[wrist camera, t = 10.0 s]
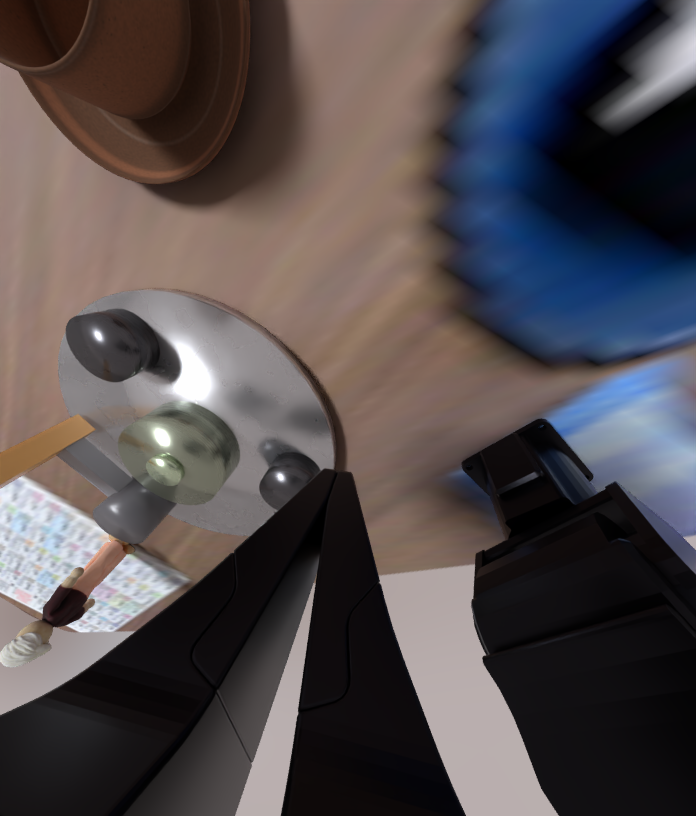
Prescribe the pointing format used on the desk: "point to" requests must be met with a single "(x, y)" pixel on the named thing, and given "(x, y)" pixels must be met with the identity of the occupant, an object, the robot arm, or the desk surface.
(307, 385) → the levelling plate
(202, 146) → the cup and saucer
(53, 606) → the grandmother figurine
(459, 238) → the desk surface
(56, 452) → the grey and tan piece
